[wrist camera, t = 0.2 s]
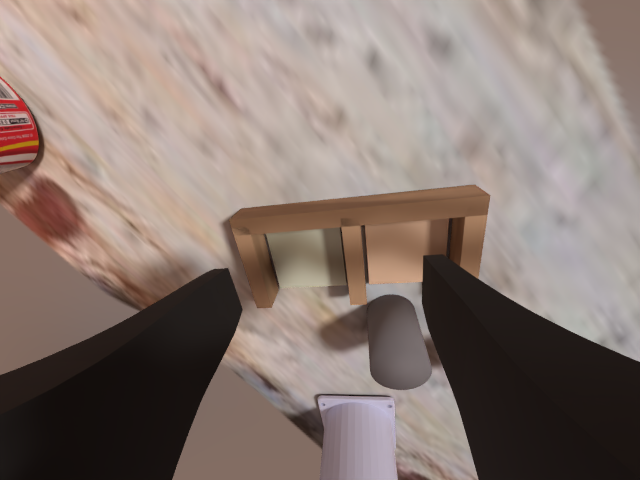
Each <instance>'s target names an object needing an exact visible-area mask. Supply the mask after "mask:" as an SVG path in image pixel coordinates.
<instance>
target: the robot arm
mask: <svg viewBox="0 0 640 480" xmlns="http://www.w3.org/2000/svg"><path fill="white" fill-rule="evenodd" d="M422 305H423V309H424V314H425V318H426V322H427V325H428V329H429V332H430V334H431V337H432V340H433V342H434V345H435V348H436V350H437V353H438V355H439V358H440V360H441V363H442V365H443V368H444V371H445V373H446V376H447V378H448V381H449V383H450V386H451V388H452V391H453V394H454V396H455V399H456V402H457V405H458V408H459V411H460V415H461V418H462V422H463V425H464V429H465V432H466V436H467V439H468V442H469V446H470V450H471V453H472V457H473V461H474V464H475V468H476V471H477V475H478V479H479V480H640V362H638V361H636V360H633V359H631V358H629V357H626V356H624V355H622V354H619V353H617V352H615V351H613V350H610V349H608V348H606V347H603V346H601V345H599V344H597V343H594V342H592V341H590V340H588V339H586V338H583V337H581V336H579V335H577V334H575V333H573V332H571V331H569V330H567V329H565V328H563V327H561V326H559V325H557V324H555V323H553V322H551V321H549V320H547V319H545V318H543V317H541V316H539V315H537V314H535V313H533V312H532V311H530V310H528V309H526V308H524V307H523V306H521V305H519V304H518V303H516V302H514V301H512V300H511V299H509V298H507V297H506V296H504V295H502V294H501V293H499V292H498V291H496V290H494V289H493V288H491V287H490V286H488V285H487V284H485V283H484V282H482V281H481V280H479V279H478V278H476V277H475V276H473V275H472V274H470V273H469V272H467V271H466V270H464V269H463V268H462V267H460V266H459V265H457V264H456V263H455V262H453V261H452V260H450V259H449V258H447V257H446V256H444V255H443V254H438V255H423V281H422ZM242 310H243V309H242V306H241V304H240V301H239V298H238V295H237V292H236V289H235V287H234V284H233V281H232V278H231V275H230V272H229V270H228V268H225V269H213V270H211V271H209V272H207V273H205V274H203V275H201V276H199V277H198V278H196V279H194V280H193V281H191V282H189V283H188V284H186V285H184V286H183V287H181V288H179V289H178V290H176V291H174V292H173V293H171V294H169V295H168V296H166V297H165V298H163V299H161V300H160V301H158V302H156V303H154V304H153V305H151V306H149V307H147V308H146V309H144V310H142V311H140V312H139V313H137V314H135V315H133V316H132V317H130V318H128V319H126V320H124V321H123V322H121V323H119V324H117V325H115V326H113V327H111V328H109V329H107V330H105V331H103V332H101V333H99V334H97V335H95V336H93V337H91V338H89V339H87V340H84V341H82V342H80V343H78V344H76V345H73V346H71V347H68V348H66V349H64V350H62V351H59V352H57V353H55V354H53V355H50V356H48V357H46V358H43V359H41V360H38V361H36V362H33V363H31V364H28V365H26V366H23V367H21V368H18V369H16V370H13V371H10V372H8V373H5V374H2V375H0V480H172V478H173V475H174V472H175V469H176V466H177V463H178V461H179V458H180V455H181V452H182V450H183V447H184V444H185V441H186V438H187V436H188V433H189V430H190V428H191V425H192V423H193V420H194V418H195V415H196V412H197V410H198V407H199V405H200V402H201V400H202V398H203V396H204V394H205V391H206V389H207V387H208V385H209V383H210V381H211V379H212V377H213V375H214V373H215V372H216V370H217V367H218V365H219V364H220V362H221V360H222V358H223V356H224V354H225V352H226V350H227V348H228V346H229V344H230V342H231V340H232V338H233V336H234V333H235V331H236V328H237V325H238V322H239V319H240V316H241V313H242ZM318 405H319V409H320V413H321V417H322V422H323V426H324V438H323V448H322V459H321V470H320V480H398V478H397V470H396V461H395V452H394V450H395V449H396V440H395V409H394V399H393V398H391V397H369V396H325V395H321V396H319V397H318Z"/></svg>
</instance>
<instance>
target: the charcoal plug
mask: <svg viewBox="0 0 640 480" xmlns="http://www.w3.org/2000/svg"><path fill="white" fill-rule="evenodd" d="M367 324H368V341H369V359H370V372H371V375H372V377H373V379H374V380H375V381H376V382H377V383H379V384H380V385H382V386H384V387H387V388H390V389H396V390H407V389H413V388H416V387H419V386H421V385H423V384H424V383H425V382H427V381H428V379H429V378H430V376H431V374H432V367H431V363H430V360H429V356H428V353H427V349H426V346H425V343H424V339H423V336H422V332H421V329H420V325H419V322H418V319H417V315H416V312H415V308H414V306H413V304H412V303H411V302H410V301H409V300H408V299H406V298H404V297H402V296H399V295H384V296H380V297H378V298H376V299H375V300H373V301H372V302H371V303H370V305H369V306H368V309H367Z"/></svg>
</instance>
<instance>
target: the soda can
mask: <svg viewBox="0 0 640 480" xmlns="http://www.w3.org/2000/svg"><path fill="white" fill-rule="evenodd" d="M38 147H39V139H38V132H37V127H36V123H35V120H34V118H33V116H32V114H31V112H30V110H29V109H28V107H27V106H26V104H25V103H24V102H23V100H22V99H21V98H20V97H19V95H18V94H17V93H16V92H15V91H14V90H13V88H12V87H11V86H10V85H9V84H8V83H7V82H5V81H4V80H3V79H2V78H1V77H0V174H2V173H5V172H8V171H11V170H15V169H18V168H21V167H25V166H27V165H29V164H30V163H31V162H32V161H33V160H34V159H35V157H36V156H37V152H38Z"/></svg>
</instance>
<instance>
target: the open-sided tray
mask: <svg viewBox="0 0 640 480" xmlns="http://www.w3.org/2000/svg"><path fill="white" fill-rule="evenodd" d="M489 201H490V195H489V194H488V193H486V192H485V191H483V190H482V189H480V188H479V187H477V186H476V185H466V186H457V187H447V188H437V189H427V190H418V191H408V192H398V193H388V194H379V195H369V196H359V197H349V198H340V199H330V200H320V201H310V202H301V203H291V204H281V205H271V206H262V207H252V208H242V209H240V210H239V211H238V212H237V213H236V214H235V215H234V216H233V217H232V218H231V219H230V220H229V222H230V225H231V228H232V231H233V234H234V237H235V240H236V244H237V247H238V250H239V253H240V256H241V259H242V262H243V265H244V269H245V272H246V275H247V278H248V281H249V284H250V287H251V290H252V293H253V297H254V300H255V303H256V306H257V308H272V305H273V303H274V300H275V298H276V296H277V293H278V291H279V290H278V286H277V282H276V278H275V274H274V271H273V267H272V263H271V259H270V256H269V252H268V248H267V244H266V240H265V237H264V234H266V236H267V240H268V244H269V247H270V251H271V255H272V259H273V263H274V267H275V270H276V274H277V278H278V282H279V286H280V288H300V287H321V286H342V285H347V280H346V272H345V264H344V256H343V248H342V239H341V231H340V227H341V229H342V237H343V245H344V254H345V262H346V271H347V279H348V287H349V296H350V304H351V305H362V304H367V299H366V283H365V271H364V259H363V247H362V235H361V226H362V225H365V233H366V246H367V260H368V273H369V284H385V283H406V282H422V281H423V255H438V254H443V255H444V256H446V251H447V238H448V225H449V218H452V226H451V238H450V250H449V259H450V260H452V261H453V262H455V263H456V264H457V265H459V266H460V267H462V268H463V269H464V270H466V271H467V272H469V273H470V274H472V275H473V276H475V277H476V278H478V276H479V269H480V263H481V256H482V249H483V242H484V235H485V228H486V221H487V214H488V207H489Z"/></svg>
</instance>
